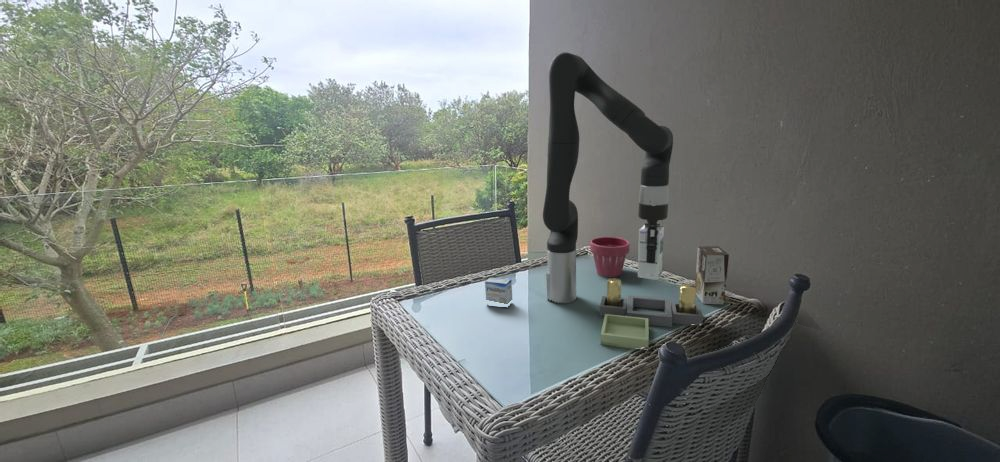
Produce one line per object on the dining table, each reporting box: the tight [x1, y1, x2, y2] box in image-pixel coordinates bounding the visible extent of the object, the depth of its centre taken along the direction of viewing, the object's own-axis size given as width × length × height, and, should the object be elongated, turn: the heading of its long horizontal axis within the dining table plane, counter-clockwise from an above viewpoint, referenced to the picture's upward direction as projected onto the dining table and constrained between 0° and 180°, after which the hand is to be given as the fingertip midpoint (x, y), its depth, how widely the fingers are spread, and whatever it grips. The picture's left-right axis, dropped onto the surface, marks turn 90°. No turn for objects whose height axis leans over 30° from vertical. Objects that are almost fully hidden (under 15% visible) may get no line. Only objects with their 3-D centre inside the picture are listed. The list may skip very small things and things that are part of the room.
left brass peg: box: [606, 277, 622, 307], centre depth 115 cm, size 4×4×10 cm
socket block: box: [599, 294, 704, 328], centre depth 113 cm, size 28×12×3 cm, turn 69°
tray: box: [600, 314, 650, 350], centre depth 102 cm, size 12×12×3 cm
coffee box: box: [694, 245, 730, 305], centre depth 119 cm, size 9×6×16 cm
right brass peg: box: [678, 283, 697, 314], centre depth 108 cm, size 4×4×10 cm
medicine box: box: [484, 277, 513, 304], centre depth 125 cm, size 8×4×9 cm, turn 68°
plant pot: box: [589, 236, 630, 278], centre depth 145 cm, size 14×14×13 cm
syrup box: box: [637, 224, 665, 281], centre depth 108 cm, size 6×6×14 cm
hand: (650, 258), depth 109 cm, fingers closed on syrup box, 6 cm apart
